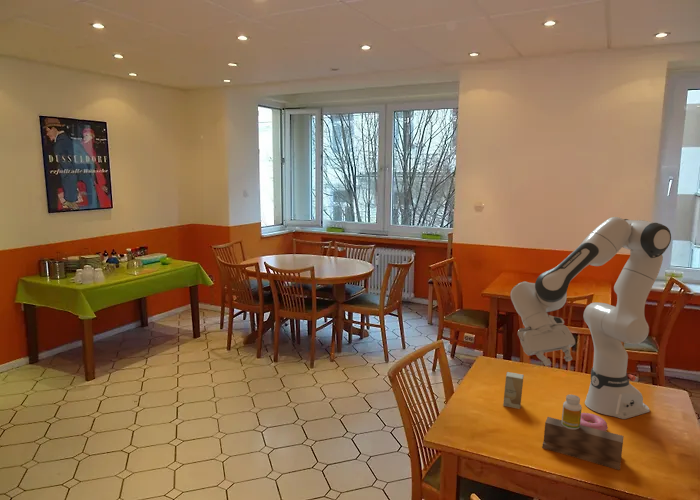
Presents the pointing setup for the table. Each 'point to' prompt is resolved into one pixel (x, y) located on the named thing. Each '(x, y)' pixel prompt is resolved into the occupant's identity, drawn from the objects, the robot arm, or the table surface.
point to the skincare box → (513, 390)
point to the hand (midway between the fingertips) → (559, 362)
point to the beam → (584, 443)
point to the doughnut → (593, 421)
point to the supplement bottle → (571, 412)
